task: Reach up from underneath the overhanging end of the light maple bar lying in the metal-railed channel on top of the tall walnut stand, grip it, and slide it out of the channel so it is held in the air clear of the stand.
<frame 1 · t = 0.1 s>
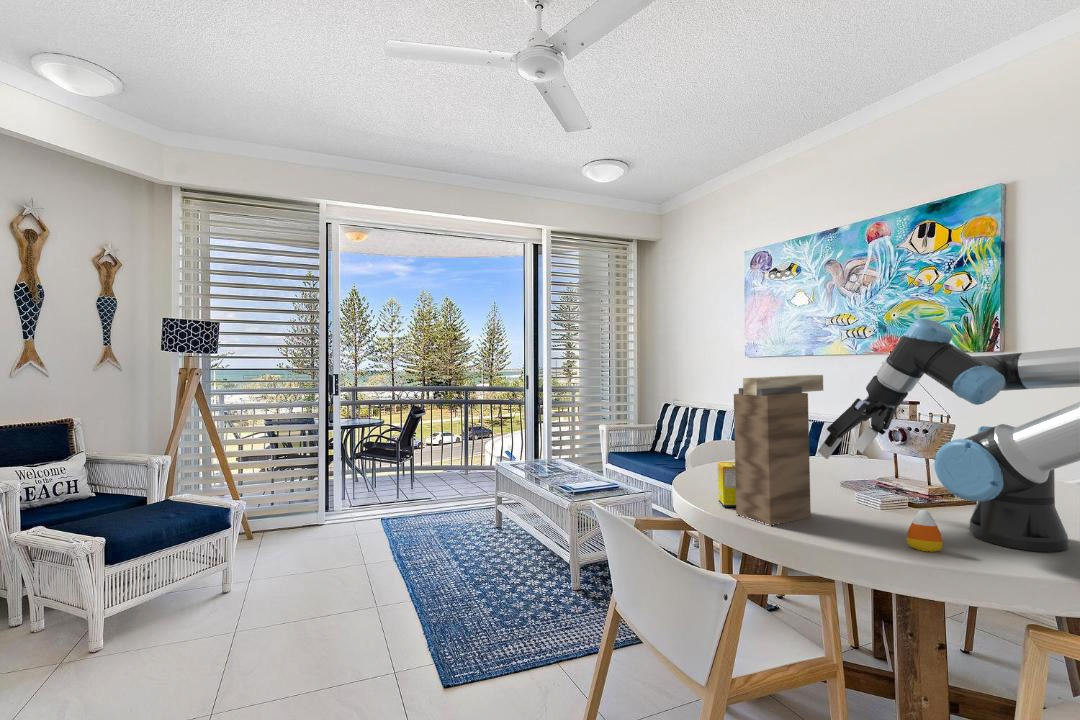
hand: (840, 452, 128), 15 cm above the table, tool tilted 35°, fingers open, 13 cm apart
candy corn: (924, 550, 104), on the table
walnut stand: (773, 516, 128), on the table
maple bar: (784, 392, 130), point 30 cm above the table, touching walnut stand
supplement box: (732, 505, 138), on the table
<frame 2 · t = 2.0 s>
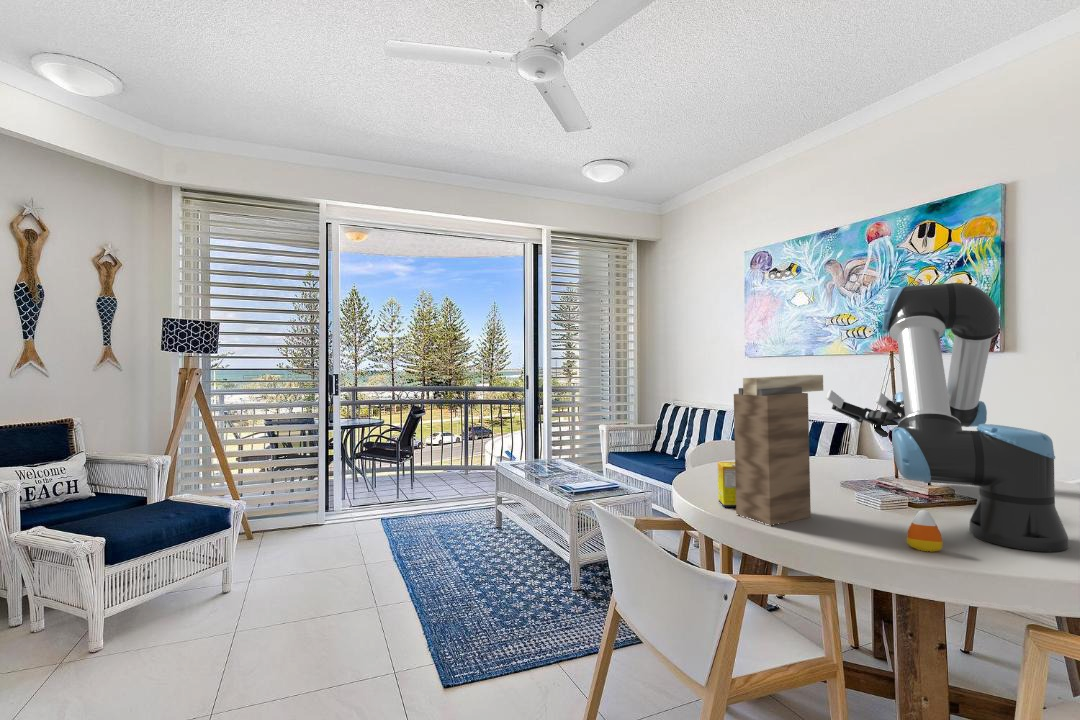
hand: (852, 395, 142), 28 cm above the table, tool pointing upward, fingers open, 13 cm apart
nothing on the table moved.
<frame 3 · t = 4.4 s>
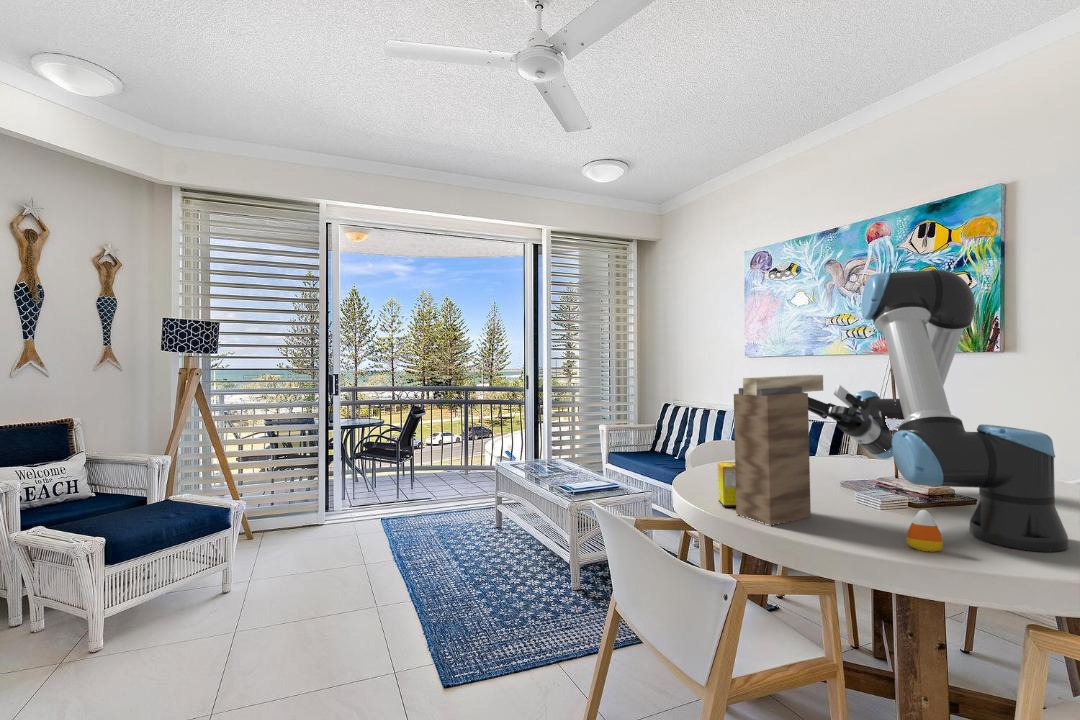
hand: (811, 388, 136), 30 cm above the table, tool pointing upward, fingers open, 13 cm apart
nothing on the table moved.
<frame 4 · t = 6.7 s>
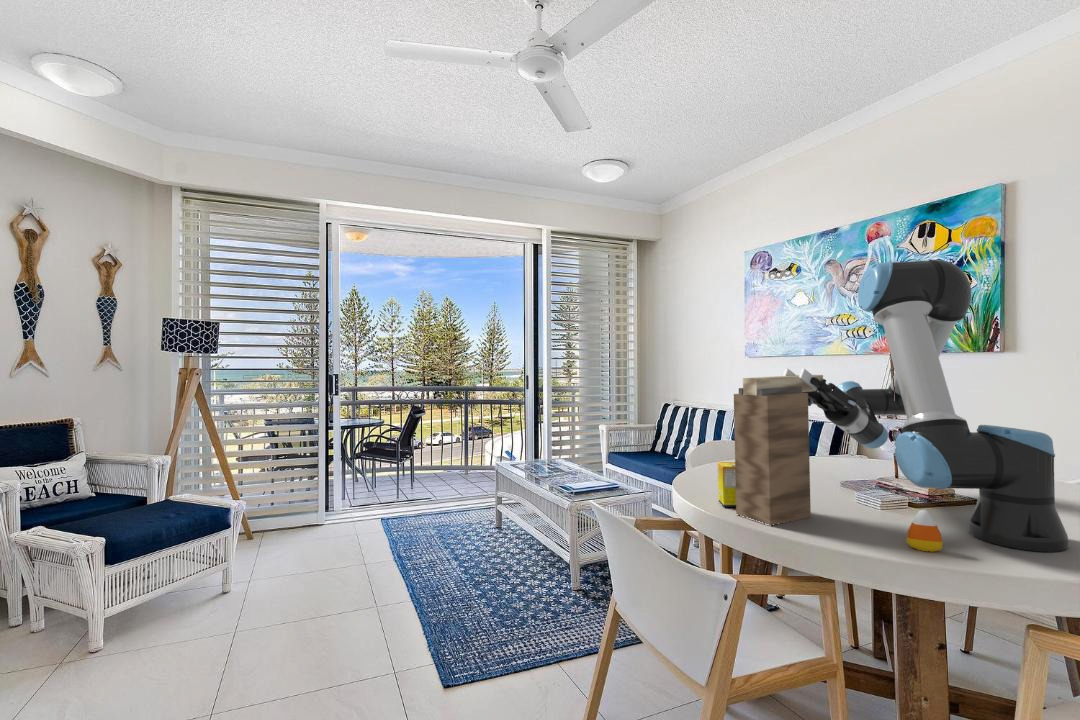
hand: (793, 373, 132), 35 cm above the table, tool pointing upward, fingers closed on maple bar, 4 cm apart
maple bar: (784, 392, 130), point 30 cm above the table, touching gripper, walnut stand
everything else where it was.
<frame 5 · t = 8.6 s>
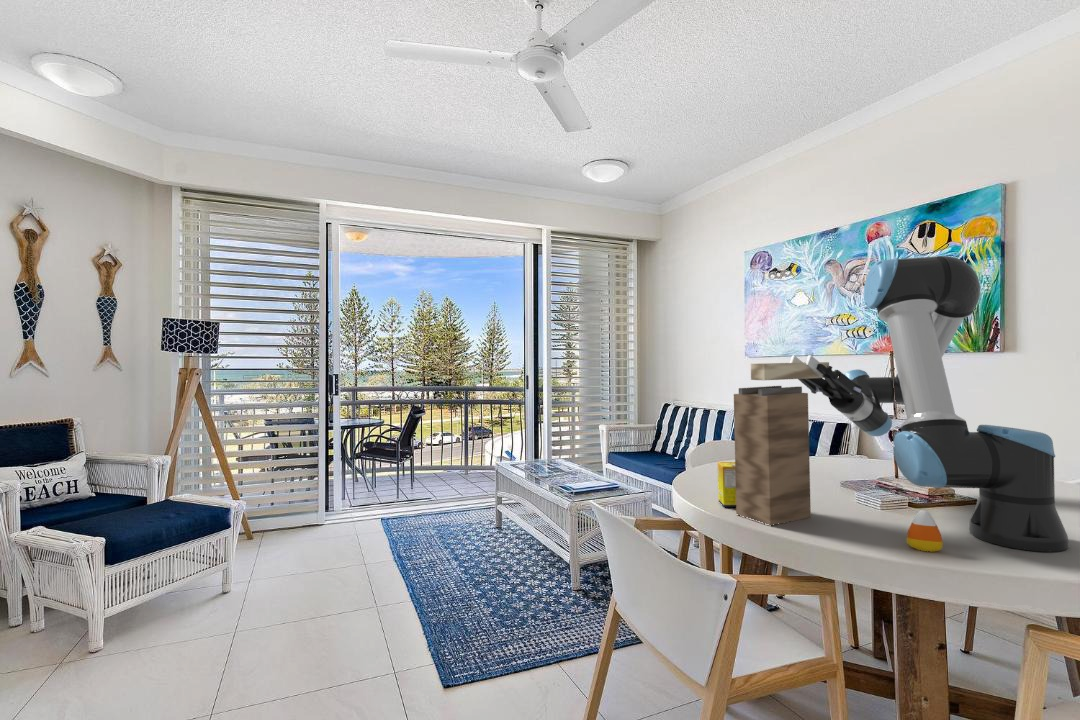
hand: (799, 360, 134), 38 cm above the table, tool pointing upward, fingers closed on maple bar, 4 cm apart
maple bar: (791, 378, 132), point 33 cm above the table, touching gripper
everything else where it was.
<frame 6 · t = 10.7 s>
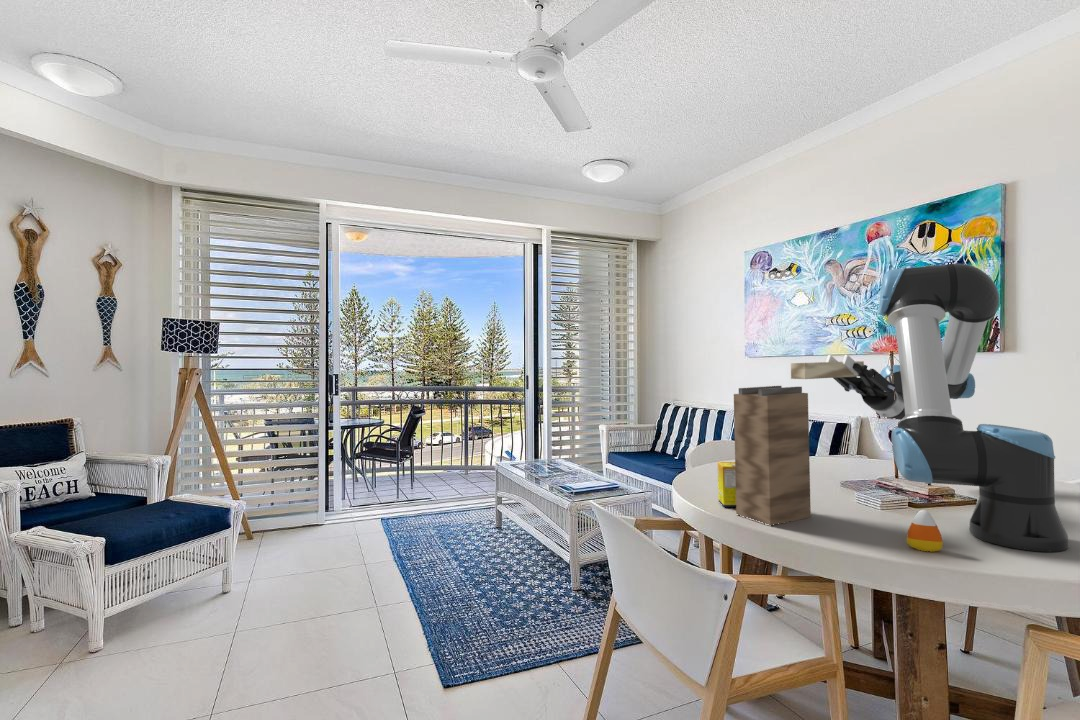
hand: (836, 359, 140), 38 cm above the table, tool pointing upward, fingers closed on maple bar, 4 cm apart
maple bar: (828, 377, 138), point 33 cm above the table, touching gripper
everything else where it was.
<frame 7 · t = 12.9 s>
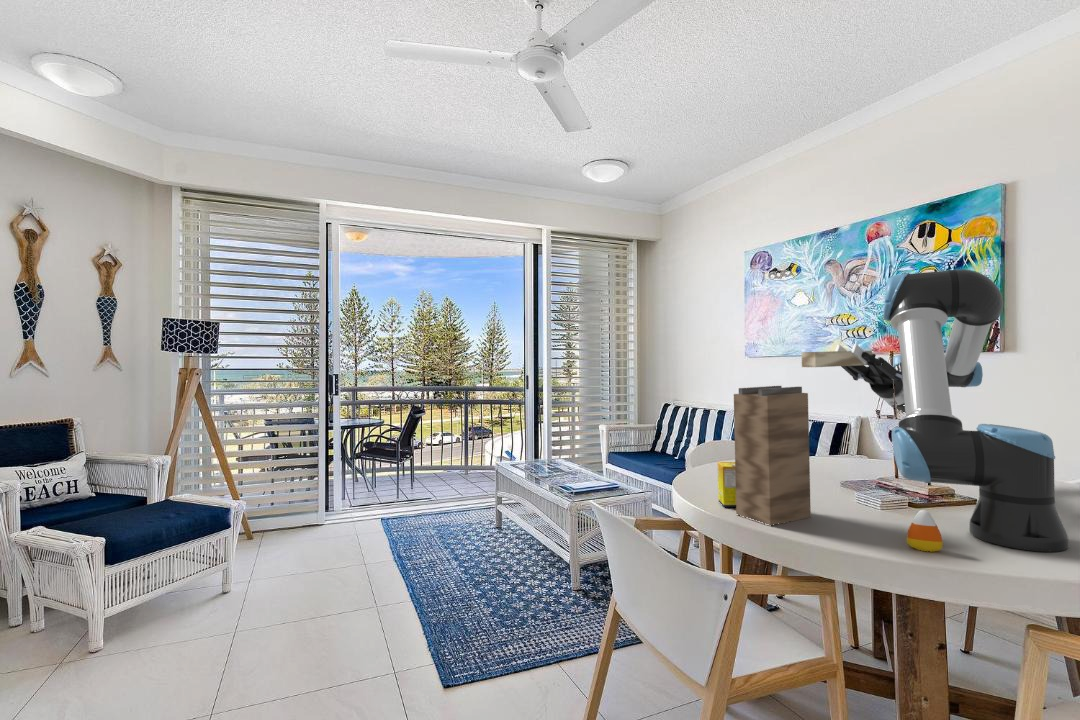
hand: (845, 348, 144), 41 cm above the table, tool pointing upward, fingers closed on maple bar, 4 cm apart
maple bar: (837, 365, 143), point 36 cm above the table, touching gripper
everything else where it was.
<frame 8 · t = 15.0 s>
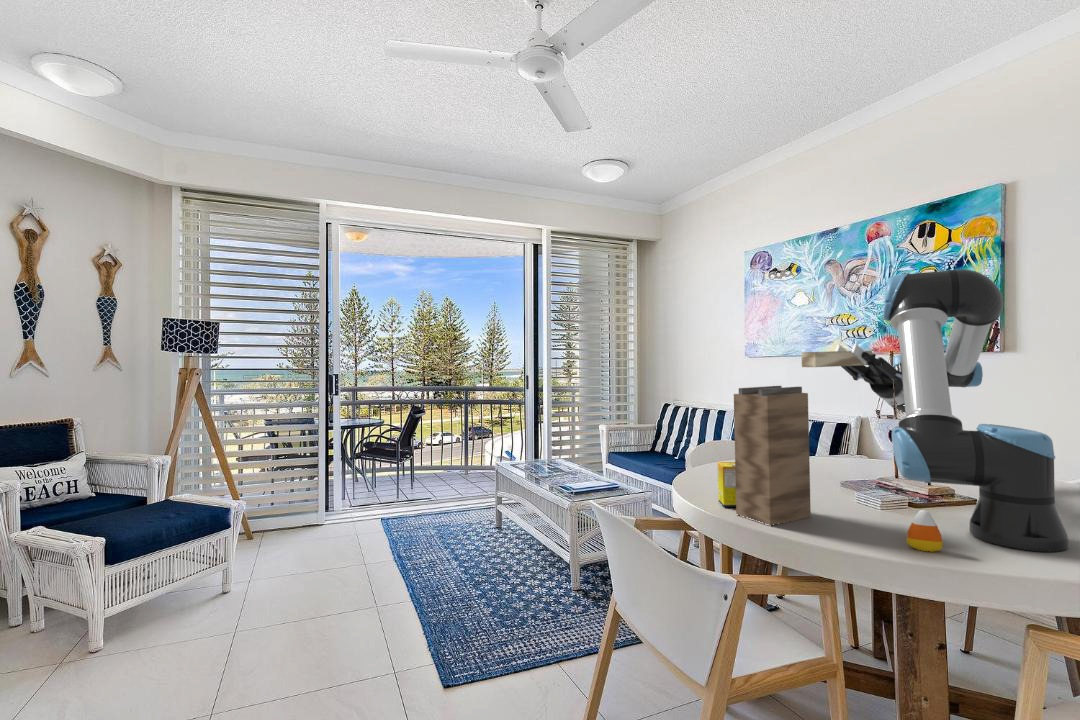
hand: (845, 348, 144), 41 cm above the table, tool pointing upward, fingers closed on maple bar, 4 cm apart
maple bar: (837, 365, 143), point 36 cm above the table, touching gripper
everything else where it was.
at the end: maple bar moved 24.8 cm from its start; the gripper is holding maple bar; maple bar touching gripper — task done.
